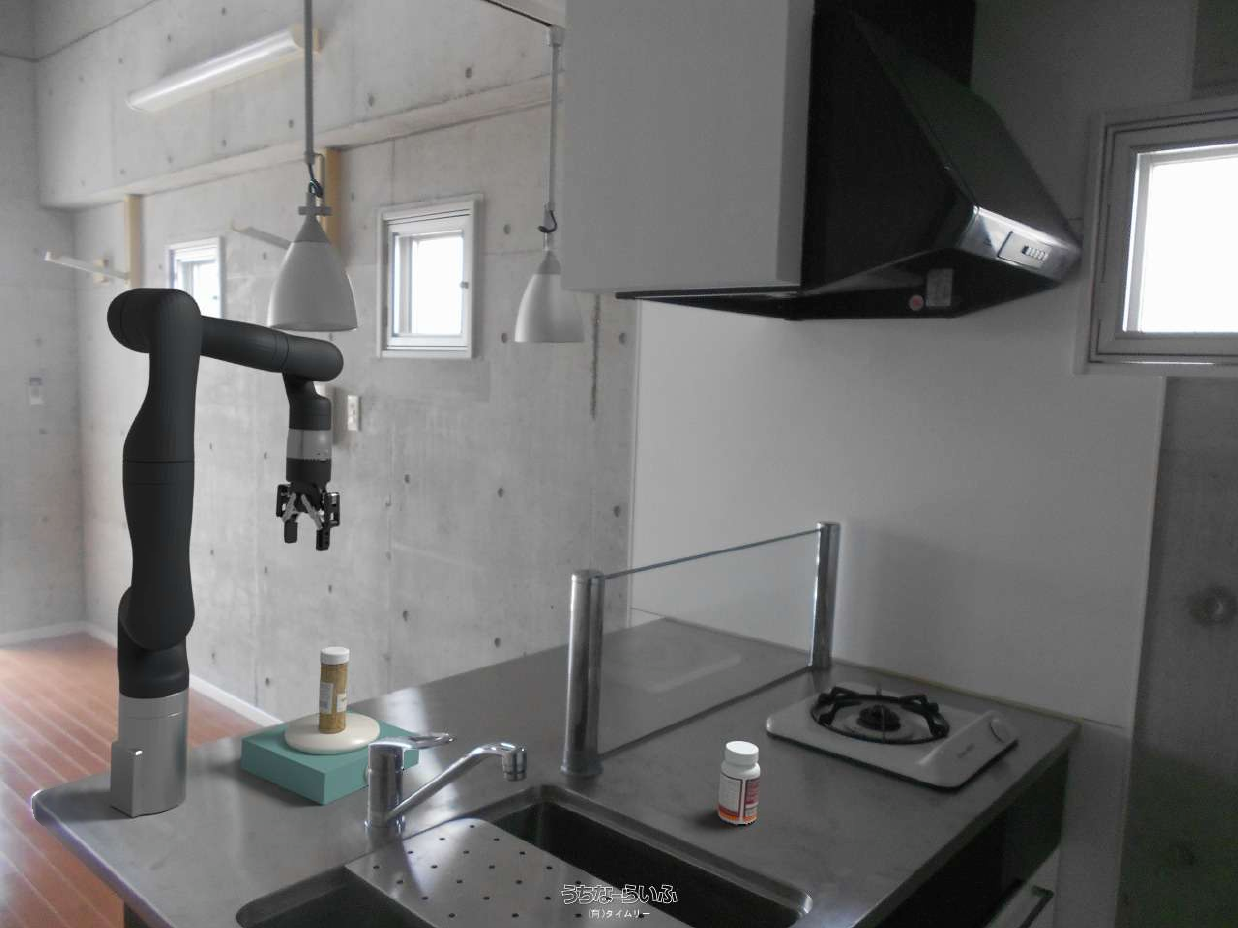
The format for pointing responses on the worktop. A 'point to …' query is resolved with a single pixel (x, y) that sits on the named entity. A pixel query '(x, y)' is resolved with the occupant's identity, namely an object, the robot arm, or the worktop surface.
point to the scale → (313, 764)
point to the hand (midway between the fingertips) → (306, 546)
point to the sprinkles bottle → (333, 689)
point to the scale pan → (331, 735)
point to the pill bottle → (739, 783)
